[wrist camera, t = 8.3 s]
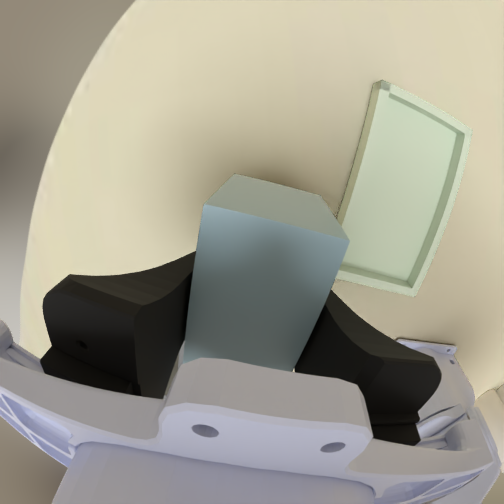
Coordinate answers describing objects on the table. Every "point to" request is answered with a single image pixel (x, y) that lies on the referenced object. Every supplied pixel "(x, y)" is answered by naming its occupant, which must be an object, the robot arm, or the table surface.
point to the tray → (400, 190)
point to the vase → (494, 417)
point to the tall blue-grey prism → (261, 273)
